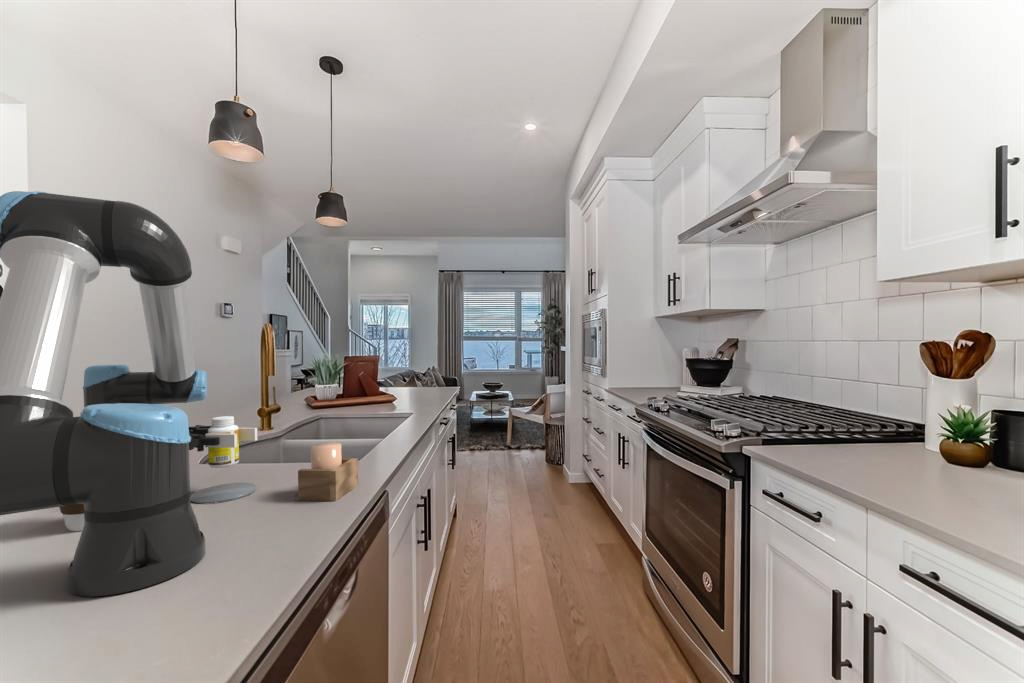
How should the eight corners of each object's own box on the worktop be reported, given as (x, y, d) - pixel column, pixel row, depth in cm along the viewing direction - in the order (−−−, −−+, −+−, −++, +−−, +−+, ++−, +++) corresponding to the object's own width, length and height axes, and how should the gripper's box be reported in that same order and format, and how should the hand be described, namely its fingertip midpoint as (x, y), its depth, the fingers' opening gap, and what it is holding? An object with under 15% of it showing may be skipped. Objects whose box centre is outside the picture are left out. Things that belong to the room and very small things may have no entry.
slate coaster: (230, 504, 90) (230, 501, 90) (174, 503, 91) (174, 500, 91) (268, 485, 102) (268, 482, 102) (219, 484, 103) (219, 482, 103)
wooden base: (336, 500, 91) (335, 471, 91) (293, 500, 92) (293, 470, 92) (358, 485, 101) (357, 458, 101) (319, 484, 101) (319, 457, 101)
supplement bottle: (229, 460, 100) (228, 414, 100) (244, 463, 98) (244, 416, 98) (202, 466, 96) (201, 418, 96) (218, 470, 93) (217, 420, 93)
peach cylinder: (333, 497, 93) (332, 448, 93) (305, 497, 93) (305, 448, 93) (347, 488, 99) (346, 442, 99) (321, 487, 99) (320, 442, 99)
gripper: (183, 443, 108) (274, 444, 105) (105, 465, 89) (213, 467, 87) (182, 412, 108) (273, 412, 105) (104, 427, 89) (212, 428, 87)
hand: (246, 437), depth 96 cm, fingers closed on supplement bottle, 6 cm apart
